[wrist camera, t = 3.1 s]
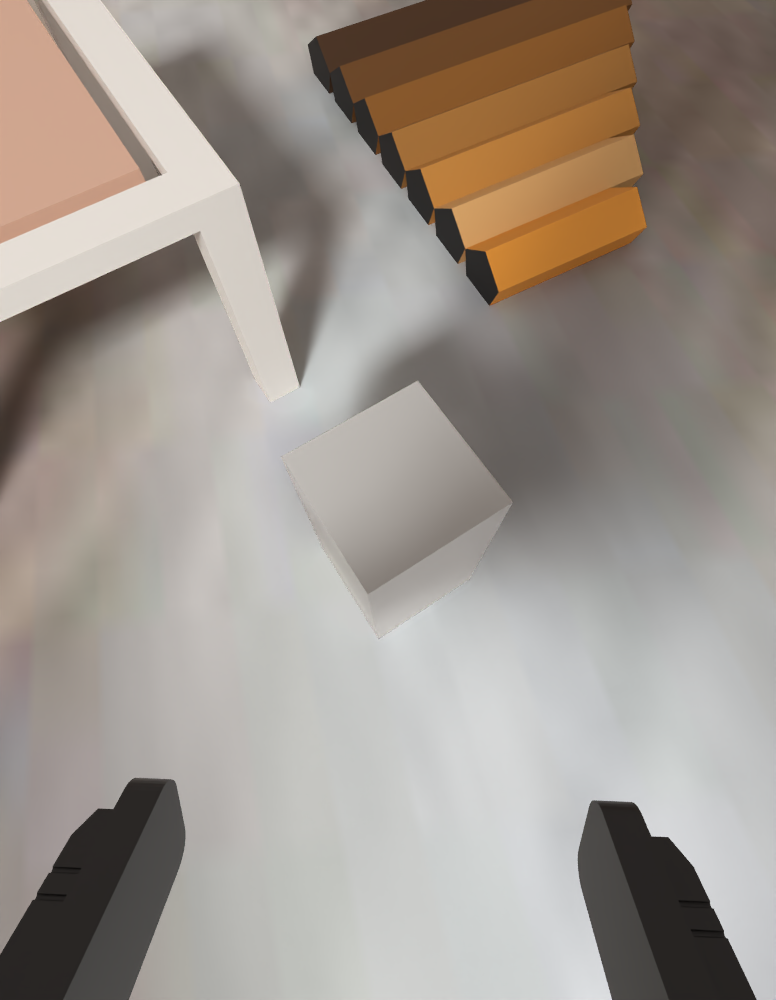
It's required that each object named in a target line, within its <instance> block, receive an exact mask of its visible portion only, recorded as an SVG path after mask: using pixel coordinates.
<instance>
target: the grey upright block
mask: <svg viewBox="0 0 776 1000" xmlns="http://www.w3.org/2000/svg"><path fill="white" fill-rule="evenodd" d="M281 458H282V460H283V462H284V464H285V467H286V469H287V471H288V473H289V475H290V478H291V480H292V482H293V484H294V487H295V489H296V491H297V493H298V495H299V498H300V500H301V502H302V504H303V506H304V509H305V511H306V513H307V515H308V517H309V520H310V522H311V524H312V526H313V528H314V531H315V533H316V535H317V537H318V540H319V542H320V544H321V546H322V548H323V550H324V552H325V553H326V555H327V557H328V558H329V560H330V561H331V563H332V565H333V566H334V568H335V570H336V571H337V573H338V574H339V576H340V578H341V579H342V581H343V582H344V584H345V586H346V587H347V589H348V591H349V592H350V594H351V595H352V597H353V599H354V600H355V602H356V604H357V605H358V607H359V608H360V610H361V612H362V613H363V615H364V616H365V618H366V620H367V621H368V623H369V625H370V626H371V628H372V629H373V631H374V633H375V634H376V636H377V637H378V639H380V638H381V637H383V636H384V635H386V634H387V633H389V632H391V631H392V630H394V629H395V628H397V627H398V626H400V625H401V624H403V623H404V622H406V621H407V620H409V619H410V618H412V617H413V616H415V615H416V614H418V613H419V612H421V611H423V610H424V609H426V608H427V607H429V606H430V605H432V604H433V603H435V602H436V601H438V600H439V599H441V598H442V597H444V596H445V595H447V594H448V593H450V592H451V591H453V590H454V589H456V588H458V587H459V586H461V585H462V584H464V583H465V582H467V581H468V580H469V579H470V578H471V576H472V574H473V572H474V571H475V569H476V567H477V565H478V563H479V562H480V560H481V558H482V556H483V555H484V553H485V551H486V549H487V548H488V546H489V544H490V542H491V540H492V539H493V537H494V535H495V533H496V532H497V530H498V528H499V526H500V525H501V523H502V521H503V519H504V517H505V516H506V514H507V512H508V510H509V509H510V507H511V505H512V503H513V501H512V500H511V499H510V497H509V496H508V495H507V494H506V492H505V491H504V490H503V489H502V487H501V486H500V485H499V483H498V482H497V481H496V480H495V478H494V477H493V476H492V474H491V473H490V472H489V471H488V469H487V468H486V467H485V466H484V464H483V463H482V462H481V460H480V459H479V458H478V457H477V455H476V454H475V453H474V452H473V450H472V449H471V448H470V446H469V445H468V444H467V443H466V441H465V440H464V439H463V437H462V436H461V435H460V434H459V432H458V431H457V430H456V429H455V427H454V426H453V425H452V423H451V422H450V421H449V420H448V418H447V417H446V416H445V415H444V413H443V412H442V411H441V409H440V408H439V407H438V406H437V404H436V403H435V402H434V400H433V399H432V398H431V397H430V395H429V394H428V393H427V392H426V390H425V389H424V388H423V386H422V385H421V384H420V383H419V381H416V382H414V383H412V384H411V385H409V386H407V387H405V388H403V389H402V390H400V391H398V392H396V393H394V394H393V395H391V396H389V397H387V398H386V399H384V400H382V401H380V402H378V403H377V404H375V405H373V406H371V407H369V408H368V409H366V410H364V411H362V412H360V413H359V414H357V415H355V416H353V417H352V418H350V419H348V420H346V421H344V422H343V423H341V424H339V425H337V426H335V427H334V428H332V429H330V430H328V431H326V432H325V433H323V434H321V435H319V436H317V437H316V438H314V439H312V440H310V441H309V442H307V443H305V444H303V445H301V446H300V447H298V448H296V449H294V450H292V451H291V452H289V453H287V454H285V455H283V456H282V457H281Z"/></svg>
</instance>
